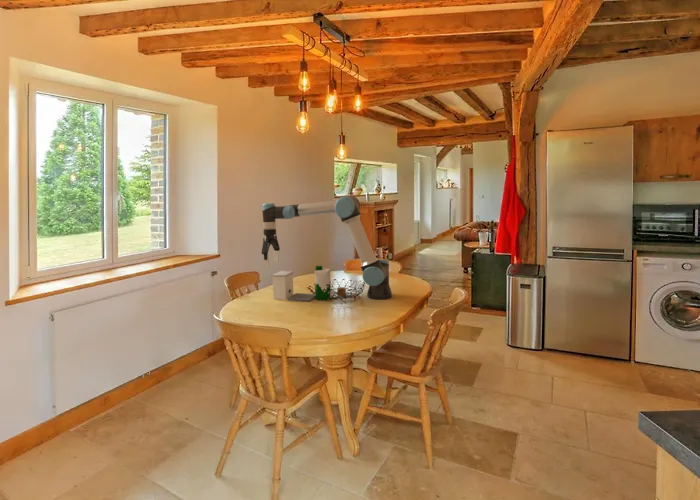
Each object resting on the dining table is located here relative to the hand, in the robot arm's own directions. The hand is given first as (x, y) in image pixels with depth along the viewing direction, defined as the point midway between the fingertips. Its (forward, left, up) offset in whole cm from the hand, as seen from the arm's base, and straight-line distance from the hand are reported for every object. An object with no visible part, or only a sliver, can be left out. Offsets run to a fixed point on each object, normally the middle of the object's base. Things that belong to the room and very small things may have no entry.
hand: (271, 263), depth 270 cm
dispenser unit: (-7, 0, -21) cm, 22 cm away
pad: (-20, 0, -21) cm, 29 cm away
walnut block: (-42, -10, -21) cm, 48 cm away
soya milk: (-33, -1, -21) cm, 39 cm away
